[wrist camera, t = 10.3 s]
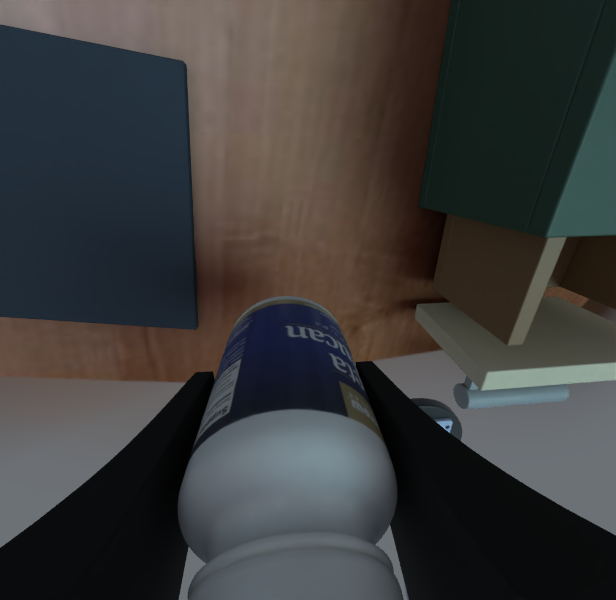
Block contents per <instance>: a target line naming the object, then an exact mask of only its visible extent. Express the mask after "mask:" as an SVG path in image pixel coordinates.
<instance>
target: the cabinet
mask: <svg viewBox="0 0 616 600" xmlns="http://www.w3.org/2000/svg"><path fill="white" fill-rule="evenodd" d="M419 207H421V208H426V209H430V210H434V211H438V212H442V213H446V214H450V215H454V216H459V217H463V218H467V219H471V220H475V221H479V222H483V223H487V224H491V225H495V226H499V227H503V228H507V229H511V230H515V231H520V232H524V233H528V234H532V235H536V236H540V237H544V238H553V237H582V236H610V235H616V0H451V6H450V12H449V19H448V25H447V31H446V37H445V44H444V50H443V56H442V62H441V69H440V75H439V81H438V87H437V94H436V100H435V106H434V112H433V119H432V125H431V131H430V137H429V144H428V150H427V156H426V162H425V169H424V175H423V181H422V187H421V194H420V200H419Z"/></svg>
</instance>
